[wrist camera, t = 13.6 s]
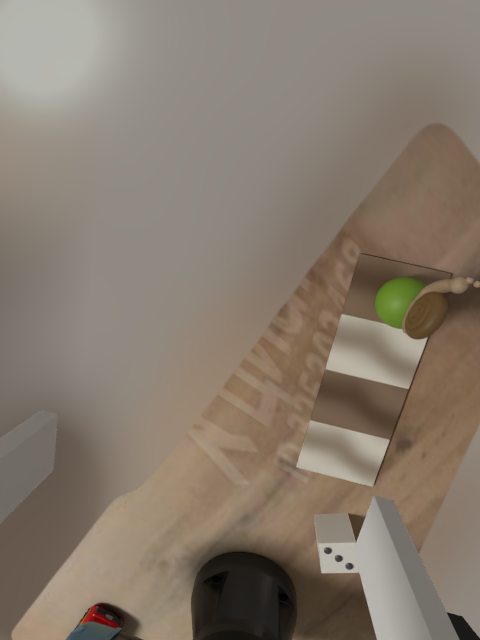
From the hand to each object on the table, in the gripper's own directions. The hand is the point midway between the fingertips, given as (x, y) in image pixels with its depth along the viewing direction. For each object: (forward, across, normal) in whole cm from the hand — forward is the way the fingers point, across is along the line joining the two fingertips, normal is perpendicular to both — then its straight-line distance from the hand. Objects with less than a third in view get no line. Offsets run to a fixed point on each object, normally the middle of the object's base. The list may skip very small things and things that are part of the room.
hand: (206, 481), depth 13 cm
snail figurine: (+27, -15, -7) cm, 31 cm away
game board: (+27, -15, +3) cm, 31 cm away
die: (+27, -17, +25) cm, 40 cm away
